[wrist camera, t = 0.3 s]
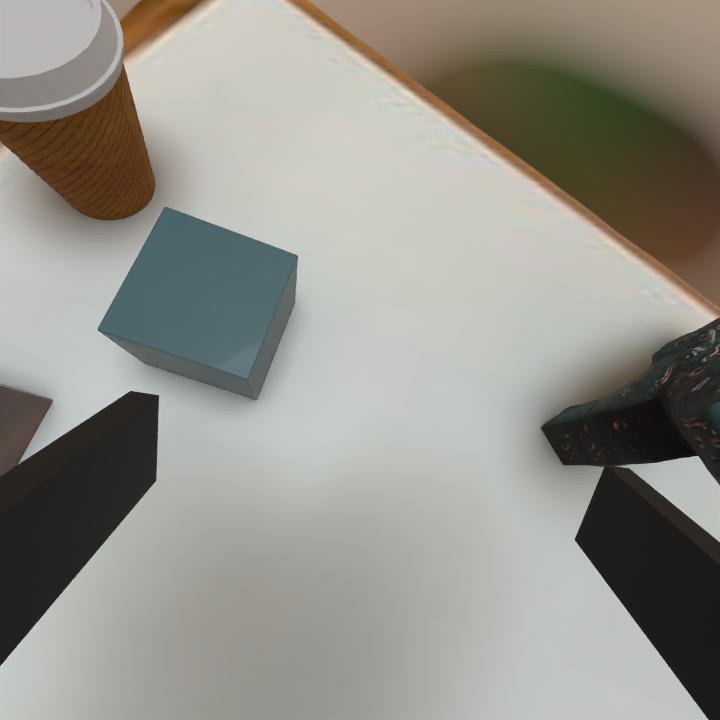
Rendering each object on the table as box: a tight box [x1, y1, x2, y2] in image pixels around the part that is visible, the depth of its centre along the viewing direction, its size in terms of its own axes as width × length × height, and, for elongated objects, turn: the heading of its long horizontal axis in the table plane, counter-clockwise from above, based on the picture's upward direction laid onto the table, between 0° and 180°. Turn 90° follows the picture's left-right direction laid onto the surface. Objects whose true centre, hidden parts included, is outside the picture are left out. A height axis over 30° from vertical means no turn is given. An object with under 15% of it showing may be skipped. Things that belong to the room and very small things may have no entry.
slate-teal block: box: [98, 207, 298, 400], centre depth 25 cm, size 8×8×7 cm
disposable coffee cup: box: [0, 0, 155, 219], centre depth 23 cm, size 10×10×12 cm
